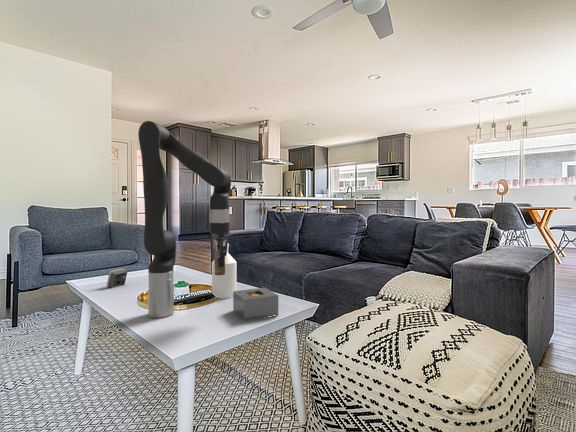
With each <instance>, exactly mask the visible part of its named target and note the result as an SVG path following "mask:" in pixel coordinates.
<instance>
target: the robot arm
mask: <svg viewBox="0 0 576 432" xmlns="http://www.w3.org/2000/svg"><path fill="white" fill-rule="evenodd" d="M138 141H139V149H140V154H141V164H142V165H141V166H142V181H143V182H142V185H143V187H142V188H143V199H144V200H143V201H144V204H143V205H144V231H143V232H144V233H143V245H144V248H145V251H146V252H147V253H148V254H149V255H152V256H153V258H152V261H151V262H150V263H149V264H148V267H147V268H148V269H147V271H148V272H147V273H148V290H147V295H148V296H147V297H148V298H147V300H148V303H147V304H148V309H147V310H148V311H147V312H148V313H147V314H148V318H149V319H151V318H155V319H156V318H157V319H159V318H165V317H166V318H167V317H169V316H172V315H174V312H175V310H174V309H175V306H174V301H175V300H174V299H175V298H174V297H175V296H174V295H175V293H174V291H175V290H174V289H175V288H174V285H175V284H174V282H175V281H174V266H175V264H176V256H177V255H176V254H177V245H176V244H177V241H176V237H175V235H174V234H173V232H171V231H170V230H164V214H165V212H166V209H167V207H168V204H169V199H170V189H169V188H170V187H169V186H170V185H169V179H168V175H167V173H166V170H165V168H164V166H163V162H162V159H161V154H160V153H161V151H164V152H165V153H168V154H170V155H172V156H173V157H174V158H175V159H177V160H178V161H179V163H180V164H182V165H183V166H184V167H186V168H187V169H188V170H190V171H191V172H192V173H194V174H196V175H197V176H199V177H200V178H201V179H202V180H204V181H205V182H206V183H207V184H208V185H210V186H211V187H213V194H212V195H210V198H209V202H210V203H209V209H210V210H209V234H210V235H214V238H212V249H213V254H215V244H216V251H218V266H219V267H224V266H225V264H224V257H225V256H226V255H227V244H229V242H228V241H227V239H226V236H225V235H228V234H230V232H231V231H230V230H231V229H230V225H231V224H230V220H231V219H230V217H231V216H230V210H229V209H230V205H229V202H230V201H229V200H230V199H229V197H230V194H231V187H232V179H231V175H230V173H229V172H228V171H226V170H224V169H221V168H219V167H218V166H216V165H214V164H212V163H211V162H210V161H209V160H208V158H206V157H204V156H203V155H202V154H200V153H198V152H197V151H195V150H194V149H192V148H190V147H189V146H187V145H185V144H184V143H183V142H181V141H180V140H178V139H177V138H176V136H174V135H173V134H172V133H171V132H170V131H169V130H168V129H167V128H166V127H165V126H163V125H161V124H159V123H156V122H154V121H152V120H145V121H144V122H142V123H141V124H140V126H139V128H138ZM219 248H220V249H219ZM222 251H223V253H222Z"/></svg>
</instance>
